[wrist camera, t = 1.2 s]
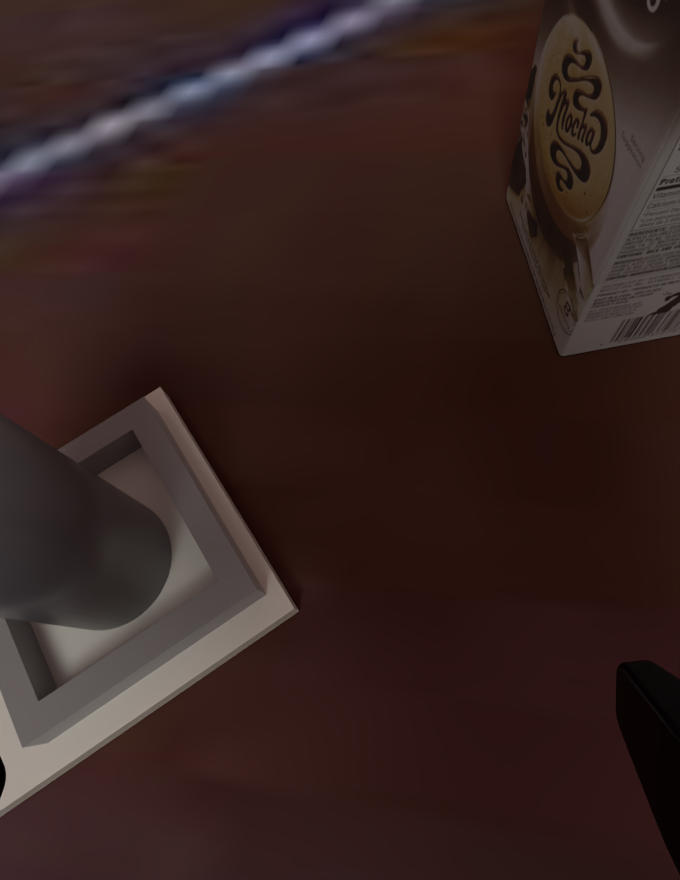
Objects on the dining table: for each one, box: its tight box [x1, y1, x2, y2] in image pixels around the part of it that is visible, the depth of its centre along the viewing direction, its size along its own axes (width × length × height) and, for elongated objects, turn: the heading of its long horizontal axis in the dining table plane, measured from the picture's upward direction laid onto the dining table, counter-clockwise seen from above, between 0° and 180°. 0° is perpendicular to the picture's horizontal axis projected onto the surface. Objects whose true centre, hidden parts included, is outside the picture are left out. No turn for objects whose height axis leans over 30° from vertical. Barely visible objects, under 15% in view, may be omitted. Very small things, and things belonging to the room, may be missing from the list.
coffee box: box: [507, 0, 680, 356], centre depth 19 cm, size 9×6×16 cm
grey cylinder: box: [0, 414, 172, 631], centre depth 18 cm, size 5×5×12 cm
